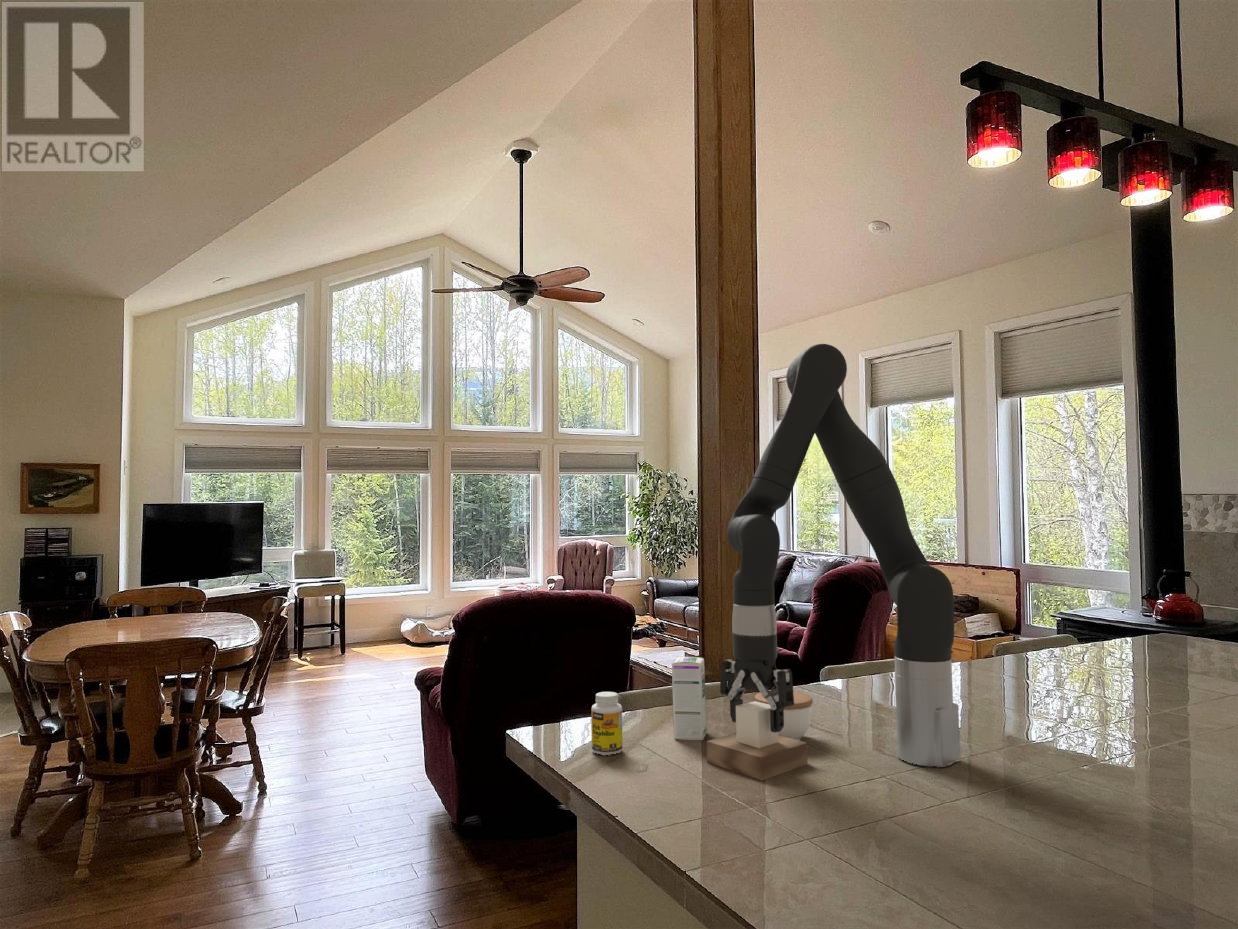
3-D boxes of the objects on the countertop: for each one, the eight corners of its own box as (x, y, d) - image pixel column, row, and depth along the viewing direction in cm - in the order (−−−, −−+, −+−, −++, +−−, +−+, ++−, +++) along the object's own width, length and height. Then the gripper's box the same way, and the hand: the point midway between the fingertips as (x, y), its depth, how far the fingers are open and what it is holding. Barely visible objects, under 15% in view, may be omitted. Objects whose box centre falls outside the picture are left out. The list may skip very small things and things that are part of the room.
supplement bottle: (587, 755, 139) (586, 696, 140) (597, 746, 144) (596, 689, 145) (617, 758, 137) (616, 698, 138) (626, 748, 143) (625, 691, 143)
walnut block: (807, 766, 133) (807, 742, 133) (762, 783, 125) (761, 757, 126) (752, 750, 142) (752, 728, 142) (707, 765, 134) (706, 741, 135)
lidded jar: (814, 748, 142) (813, 695, 142) (754, 745, 144) (753, 693, 144) (812, 732, 152) (811, 682, 153) (756, 729, 154) (755, 681, 155)
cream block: (778, 742, 134) (777, 706, 134) (758, 748, 131) (758, 711, 131) (756, 736, 138) (755, 701, 138) (736, 741, 134) (735, 705, 135)
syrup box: (704, 741, 147) (702, 662, 148) (672, 739, 148) (671, 661, 149) (706, 732, 152) (705, 656, 153) (676, 731, 154) (675, 656, 154)
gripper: (801, 632, 132) (804, 731, 131) (737, 624, 143) (739, 714, 142) (773, 637, 127) (775, 739, 126) (709, 628, 138) (710, 722, 137)
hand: (756, 726), depth 134 cm, fingers open, 8 cm apart
